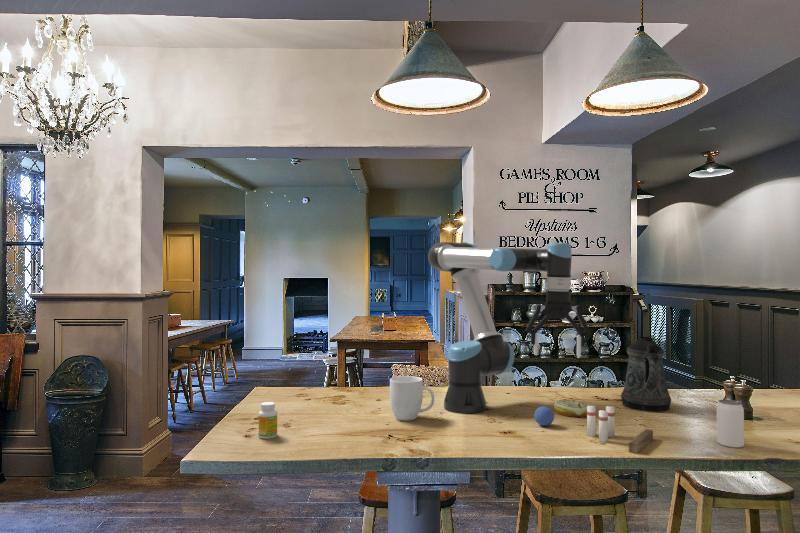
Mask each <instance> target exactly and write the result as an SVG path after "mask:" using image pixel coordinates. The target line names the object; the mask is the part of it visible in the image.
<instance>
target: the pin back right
mask: <svg viewBox="0 0 800 533" xmlns="http://www.w3.org/2000/svg"><path fill="white" fill-rule="evenodd" d="M598 441H599V442H600V443H608V442H609V437H608V411H606V409H605V410H604V409H603V410H601V409H600V410H598Z"/></svg>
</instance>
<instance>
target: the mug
mask: <svg viewBox="0 0 800 533" xmlns="http://www.w3.org/2000/svg"><path fill="white" fill-rule="evenodd" d="M423 381H424V380H423V378H422V377H419V376H415V375H414V376H412V375H400V376H399V375H397V376H393V377H391V378H390V379H389V399H390V406H391V410H392V413H393V414H394V415H393V416H394V417H395V418H396V419H397V420H399V421H405V422H406V421H409V422H410V421H414V420H416V419H417V418H418V416H419V414H420V413H425V412H426V411H429V410H430V409H432V408H433V406H434V403H435V394H434V392H433V390H432V389H431V388H430V387H429V386H425V385H423V384H424V382H423ZM424 390H426V391H428V392H429V393H430V395H431V401H430V404H429V405H428V406H427V407H425V408H422V403H423V395H424V394H423V393H424Z"/></svg>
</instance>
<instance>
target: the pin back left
mask: <svg viewBox="0 0 800 533" xmlns="http://www.w3.org/2000/svg"><path fill="white" fill-rule="evenodd" d="M605 411H608V438H615V437H616V436H615V434H616V432H615V429H616V427H615V426H616V425H615V424H616V421H615V419H616V418H615V416H616V412H615V411H616V410H615V407H614V406H612V405H611V406H607V405H606V406H605Z"/></svg>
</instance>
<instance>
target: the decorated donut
mask: <svg viewBox="0 0 800 533" xmlns="http://www.w3.org/2000/svg"><path fill="white" fill-rule="evenodd" d="M553 406H554V407H553V408H554V410H555V412H556V413H557V414H558V415H561V416H564V417H572V418H574V417H575V418H578V417H579V418H582V417H587V406H590V405H589V404H588V403H585V402H584V401H579V400H575V399H559V400H557V401H555V402H554V405H553Z"/></svg>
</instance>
